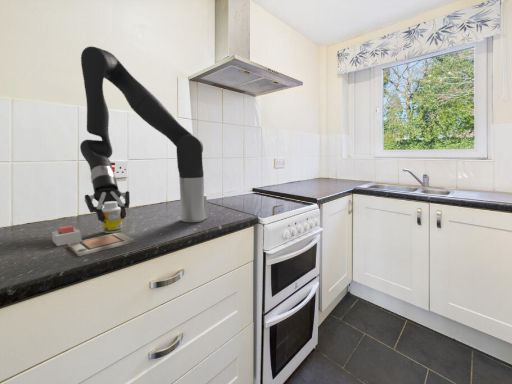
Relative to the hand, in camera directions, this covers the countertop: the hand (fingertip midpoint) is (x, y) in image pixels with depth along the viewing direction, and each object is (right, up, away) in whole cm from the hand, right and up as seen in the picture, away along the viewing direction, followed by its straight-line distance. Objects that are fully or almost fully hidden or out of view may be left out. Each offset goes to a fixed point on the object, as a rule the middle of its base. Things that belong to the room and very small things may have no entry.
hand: (113, 218), depth 84 cm
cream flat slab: (+2, -6, -10) cm, 12 cm away
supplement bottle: (-1, -5, +2) cm, 5 cm away
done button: (-10, -4, -8) cm, 13 cm away
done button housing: (-10, -6, -8) cm, 14 cm away
